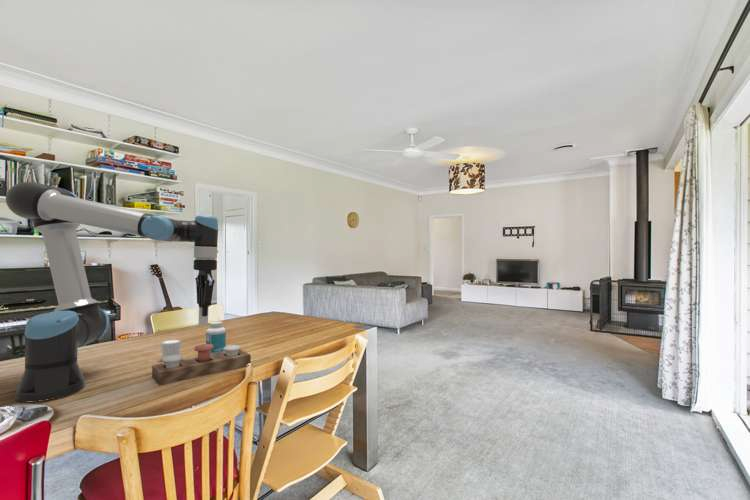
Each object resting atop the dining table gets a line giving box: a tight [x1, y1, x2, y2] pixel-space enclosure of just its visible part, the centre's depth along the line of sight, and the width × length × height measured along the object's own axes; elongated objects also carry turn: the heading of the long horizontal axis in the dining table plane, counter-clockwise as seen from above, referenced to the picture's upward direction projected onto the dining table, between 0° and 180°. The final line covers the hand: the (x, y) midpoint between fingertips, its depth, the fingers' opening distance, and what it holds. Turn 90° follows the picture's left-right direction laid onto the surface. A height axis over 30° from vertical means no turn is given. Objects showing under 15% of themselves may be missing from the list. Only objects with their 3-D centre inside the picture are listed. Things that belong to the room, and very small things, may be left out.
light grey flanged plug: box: [160, 339, 182, 359], centre depth 139 cm, size 7×7×7 cm
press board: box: [151, 349, 252, 386], centre depth 126 cm, size 30×10×4 cm, turn 133°
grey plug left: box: [162, 354, 184, 369], centre depth 119 cm, size 6×6×6 cm
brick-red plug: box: [194, 343, 213, 363], centre depth 126 cm, size 6×6×6 cm
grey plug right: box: [224, 344, 242, 357], centre depth 133 cm, size 6×6×6 cm
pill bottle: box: [205, 321, 227, 355], centre depth 145 cm, size 8×7×14 cm
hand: (203, 324), depth 126 cm, fingers closed
